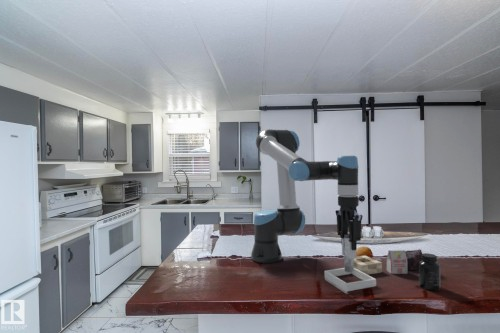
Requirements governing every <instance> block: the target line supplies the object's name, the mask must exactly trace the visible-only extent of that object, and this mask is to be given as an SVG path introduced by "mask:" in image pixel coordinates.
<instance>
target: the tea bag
mask: <svg viewBox="0 0 500 333" xmlns="http://www.w3.org/2000/svg"><path fill="white" fill-rule="evenodd" d="M387 251H388V252H387V256H386V271H387V272H388V273H390V274H391V275H394V274H395V275H397V274H398V275H400V274H401V275H402V274H405V275H407V274H408V270H409V269H407V258H406V253H405V251H406V249H405V250H404V249H403V250H401V249H400V250H397V249H396V250H387Z"/></svg>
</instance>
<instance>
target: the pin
mask: <svg viewBox="0 0 500 333" xmlns="http://www.w3.org/2000/svg"><path fill="white" fill-rule="evenodd" d="M349 240H350V235H349V232H348V233H346V234H344V256H343V257H344V262H343V263H344V266H343V268H344V270H345V271H346V272H354V258H352V259H349Z"/></svg>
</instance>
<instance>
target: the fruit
mask: <svg viewBox="0 0 500 333" xmlns="http://www.w3.org/2000/svg"><path fill="white" fill-rule="evenodd" d="M358 256H368V257H370V258H373V250H372V249H371V248H370V247H368V246H365V245H364V246H360V247H357V249H356V257H358Z"/></svg>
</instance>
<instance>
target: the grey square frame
mask: <svg viewBox="0 0 500 333" xmlns="http://www.w3.org/2000/svg"><path fill="white" fill-rule="evenodd" d="M350 274H351V275H353V276H355V277H357V278H358V279H360V280H357V281H350V282H346V281H345V280H342V279H341V278H339V277H340V276H345V275H350ZM324 280H325V281H326V282H327V283H329V284H330V285H332V286H334V287H335V288H337V289H338V290H339V291H341V292H343V293H344V294H346V295H350V292H351V291H355V290H362V289H368V288H374V287H376V286H377V279H376V278H375V277H373V276H370V274H368V275H367V274H365V273H363V272H361V271H359V270H357V269H355V268H354V272H346V271H345V270H344V267H341V268H334V269H333V268H332V269H329V270H328V269H327V270H324Z"/></svg>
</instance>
